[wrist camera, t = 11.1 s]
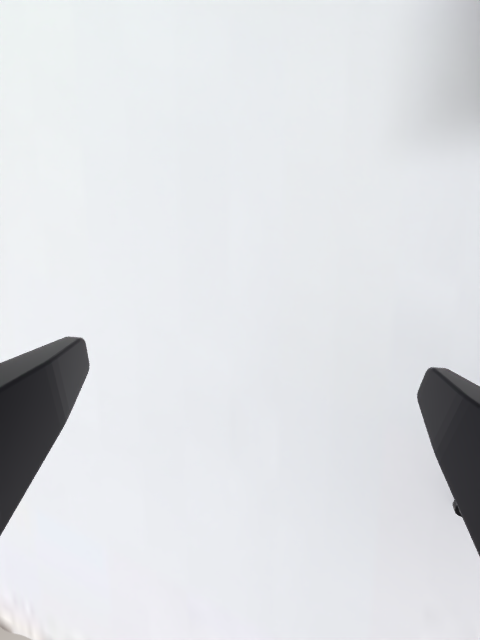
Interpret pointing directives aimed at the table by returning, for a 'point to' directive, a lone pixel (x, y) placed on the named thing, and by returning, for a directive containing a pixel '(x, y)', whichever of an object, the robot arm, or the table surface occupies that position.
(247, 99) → the table surface
